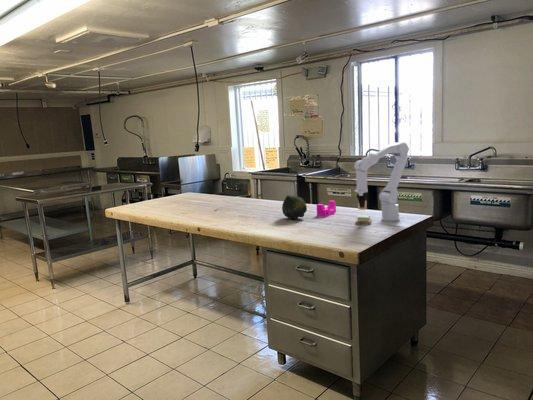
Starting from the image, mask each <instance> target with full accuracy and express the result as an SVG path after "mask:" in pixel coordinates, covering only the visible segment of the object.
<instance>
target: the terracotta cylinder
mask: <svg viewBox="0 0 533 400" xmlns="http://www.w3.org/2000/svg"><path fill="white" fill-rule="evenodd" d="M357 202H358V203H357V204H358V210H360V211H365V210H367V209H368V207H367V204H368V203H367V202H368V201H367V199H366V200H365V205H364V207H360V205H359V201H357Z"/></svg>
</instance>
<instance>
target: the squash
mask: <svg viewBox="0 0 533 400" xmlns="http://www.w3.org/2000/svg"><path fill="white" fill-rule="evenodd" d="M281 208H282V214H283V215H284V216H285V217H286V218H288V219H290V220H292V221H293V220H298V219H299V218H303V217H304V216H305V213H307V211H308V210H307V204H306V201H305V200H304V199H303V197H300V196H296V195H286V197H285V198H284V200H283V203H282V206H281Z"/></svg>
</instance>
